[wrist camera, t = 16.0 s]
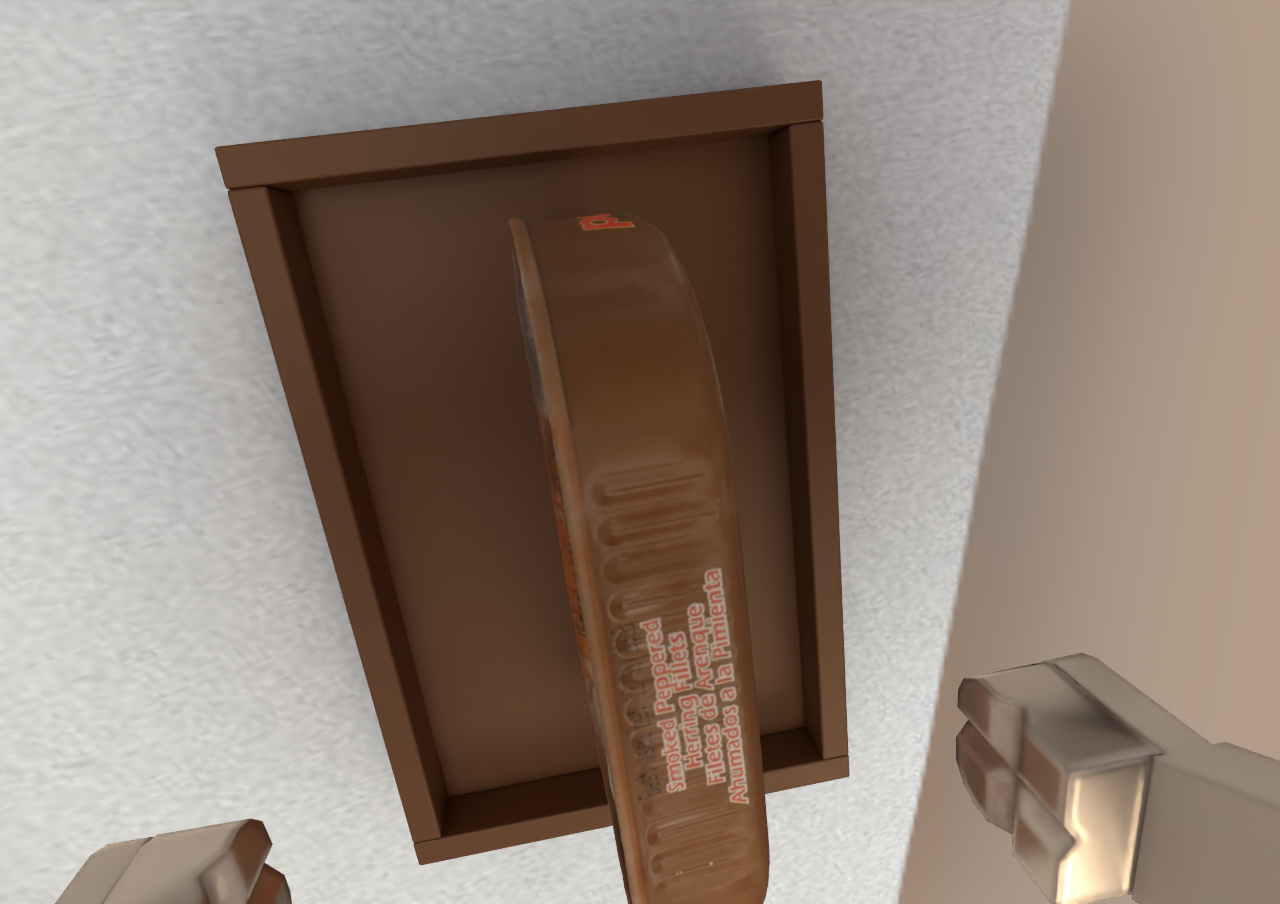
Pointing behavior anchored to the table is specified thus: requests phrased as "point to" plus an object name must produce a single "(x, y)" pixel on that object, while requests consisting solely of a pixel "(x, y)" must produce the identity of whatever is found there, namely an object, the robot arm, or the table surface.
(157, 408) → the table surface
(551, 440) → the tin
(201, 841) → the robot arm
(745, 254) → the tray
